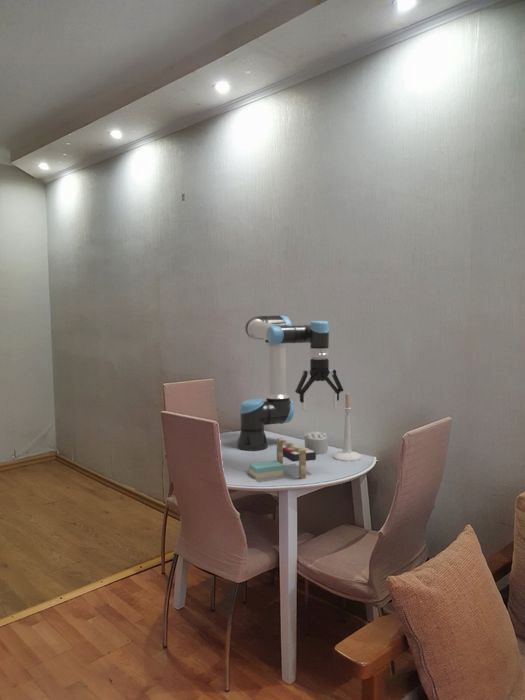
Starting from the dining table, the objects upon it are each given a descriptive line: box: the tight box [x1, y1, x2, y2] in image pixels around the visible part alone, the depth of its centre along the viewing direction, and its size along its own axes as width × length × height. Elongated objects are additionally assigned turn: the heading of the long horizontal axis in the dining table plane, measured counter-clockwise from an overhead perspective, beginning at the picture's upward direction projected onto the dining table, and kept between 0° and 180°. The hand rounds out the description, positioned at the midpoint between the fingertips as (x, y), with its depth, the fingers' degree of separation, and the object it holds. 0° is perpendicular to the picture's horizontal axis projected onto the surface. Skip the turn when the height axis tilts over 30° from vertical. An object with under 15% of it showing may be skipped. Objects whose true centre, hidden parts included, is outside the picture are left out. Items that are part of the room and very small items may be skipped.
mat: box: [243, 463, 313, 483], centre depth 217 cm, size 16×24×1 cm, turn 114°
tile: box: [249, 460, 284, 479], centre depth 215 cm, size 7×12×4 cm, turn 114°
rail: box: [276, 437, 307, 480], centre depth 219 cm, size 23×2×12 cm, turn 24°
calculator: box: [283, 445, 317, 462], centre depth 242 cm, size 11×4×15 cm
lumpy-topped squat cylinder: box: [304, 431, 329, 456], centre depth 251 cm, size 10×13×9 cm
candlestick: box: [332, 392, 363, 462], centre depth 239 cm, size 13×13×30 cm
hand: (319, 409), depth 218 cm, fingers open, 13 cm apart
